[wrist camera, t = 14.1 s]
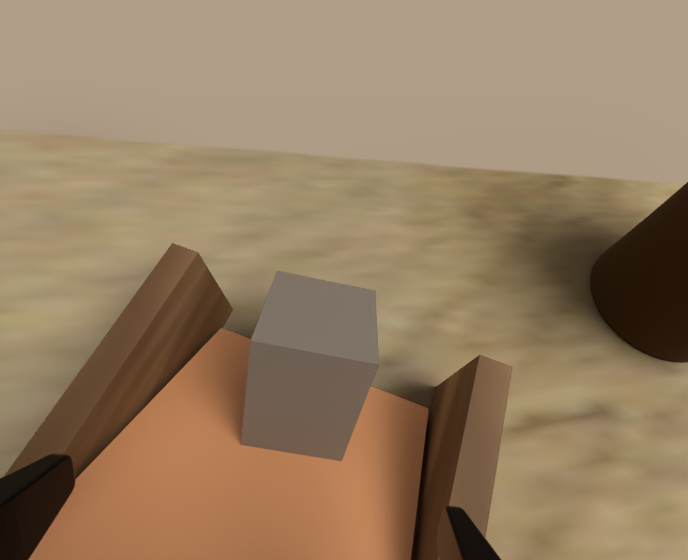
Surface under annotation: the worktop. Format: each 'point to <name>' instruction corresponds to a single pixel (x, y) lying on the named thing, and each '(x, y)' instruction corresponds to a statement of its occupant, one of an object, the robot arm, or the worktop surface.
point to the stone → (310, 366)
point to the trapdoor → (241, 481)
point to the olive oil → (649, 282)
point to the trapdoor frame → (197, 329)
